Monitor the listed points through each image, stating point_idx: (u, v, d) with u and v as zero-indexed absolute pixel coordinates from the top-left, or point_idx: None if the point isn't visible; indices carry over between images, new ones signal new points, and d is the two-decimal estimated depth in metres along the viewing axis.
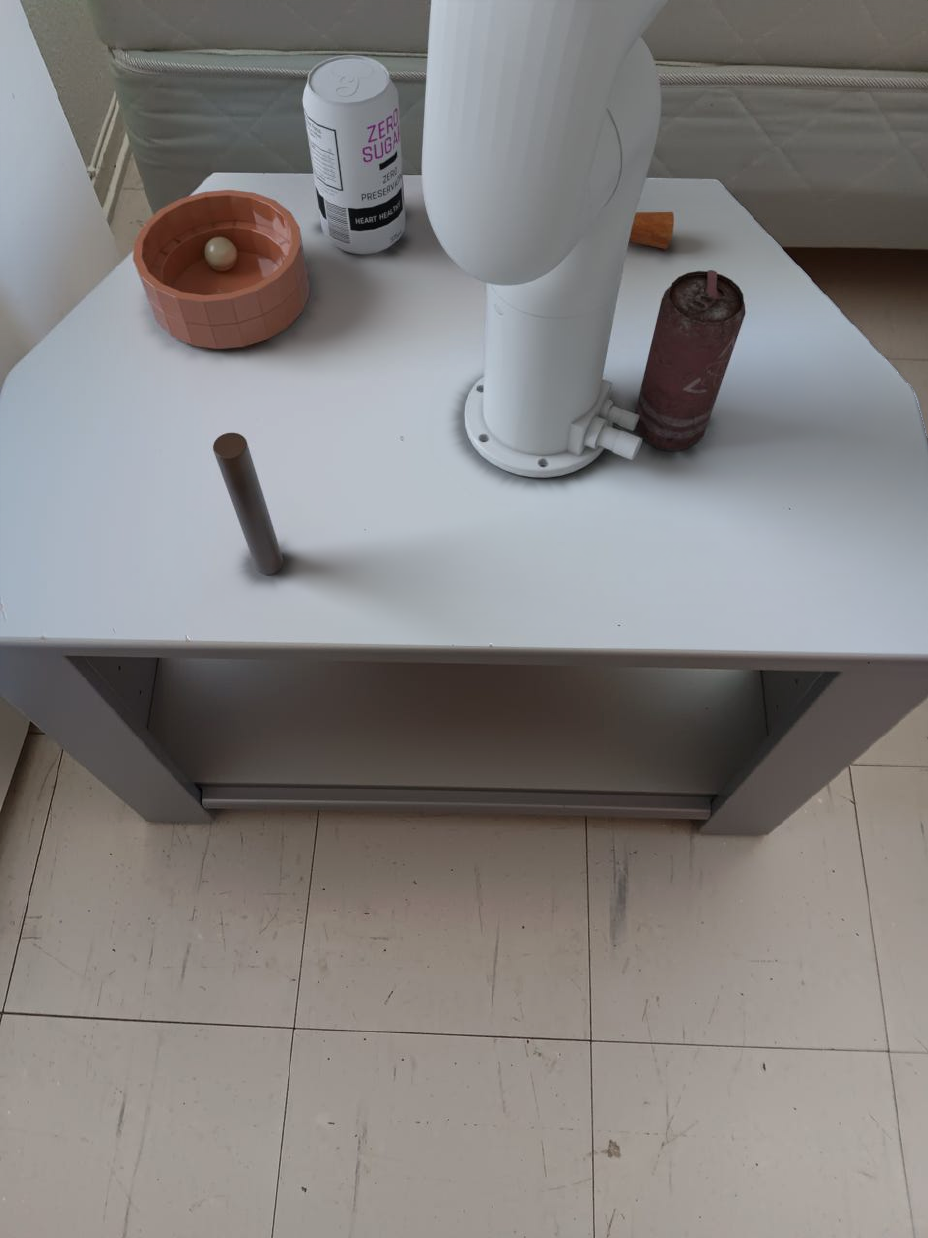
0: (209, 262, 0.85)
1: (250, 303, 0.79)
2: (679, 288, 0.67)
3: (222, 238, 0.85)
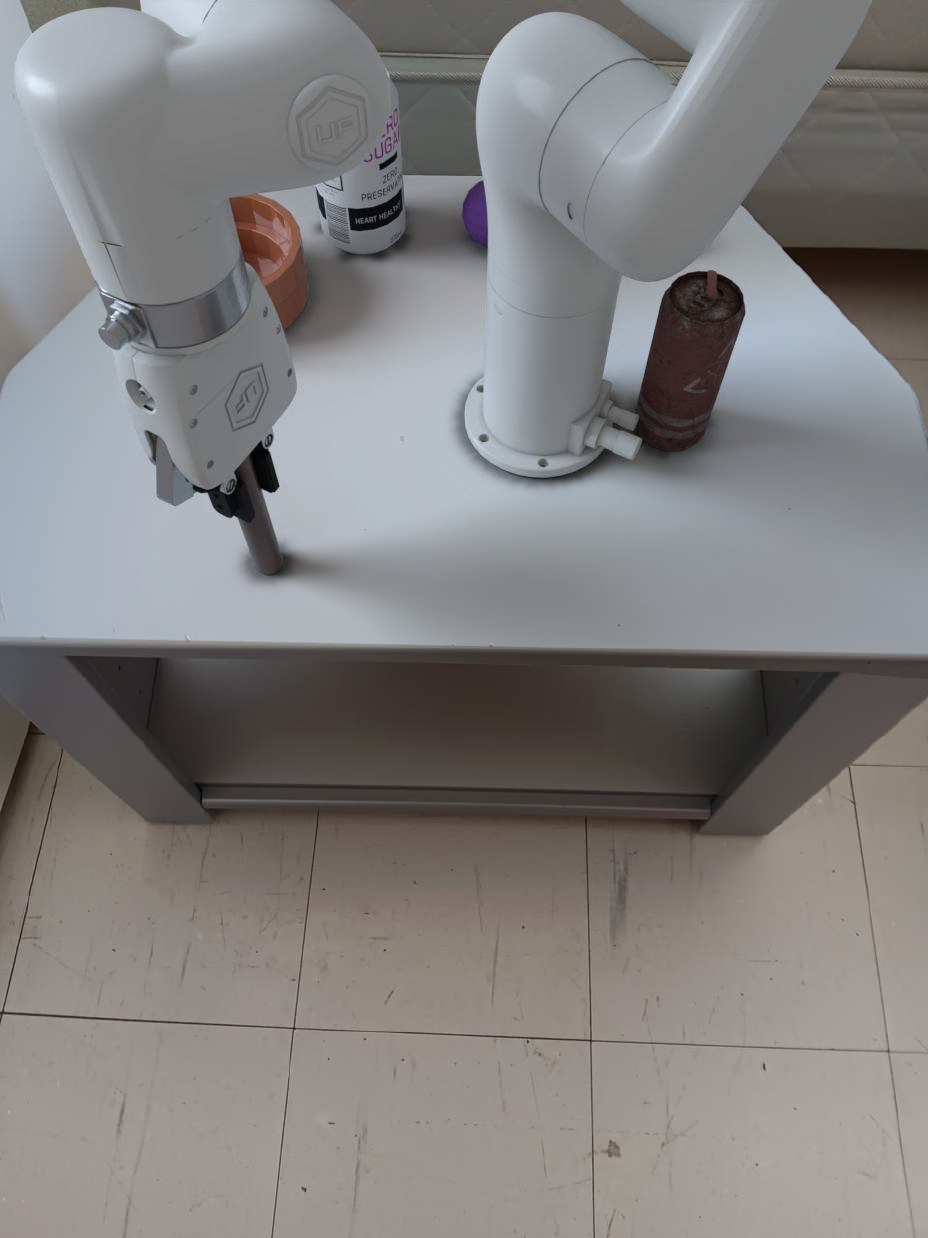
0: None
1: None
2: (679, 288, 0.67)
3: None
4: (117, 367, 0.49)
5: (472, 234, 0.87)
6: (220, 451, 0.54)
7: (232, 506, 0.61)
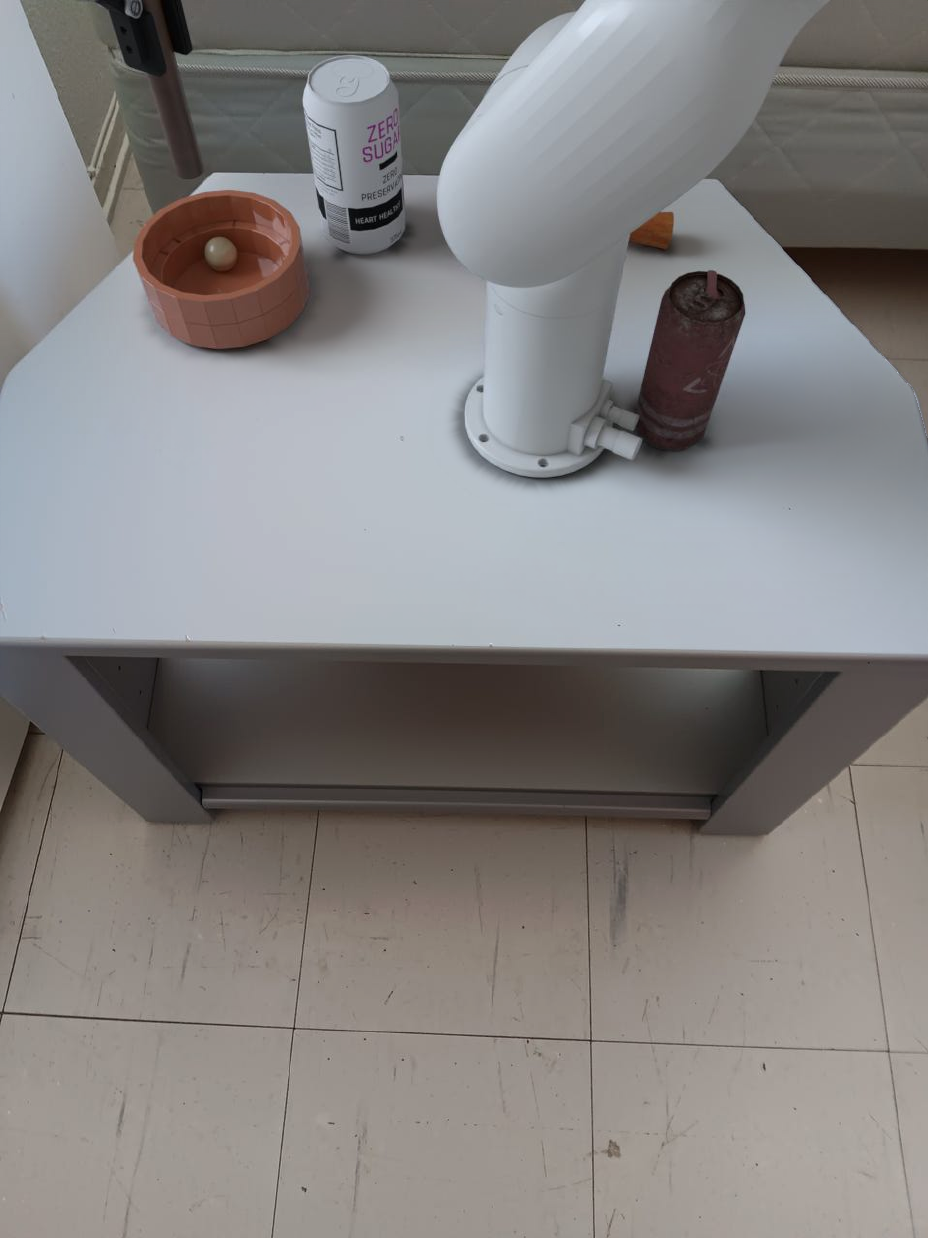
0: (209, 262, 0.85)
1: (250, 303, 0.79)
2: (679, 288, 0.67)
3: (222, 238, 0.85)
4: None
5: None
6: None
7: (141, 46, 0.60)
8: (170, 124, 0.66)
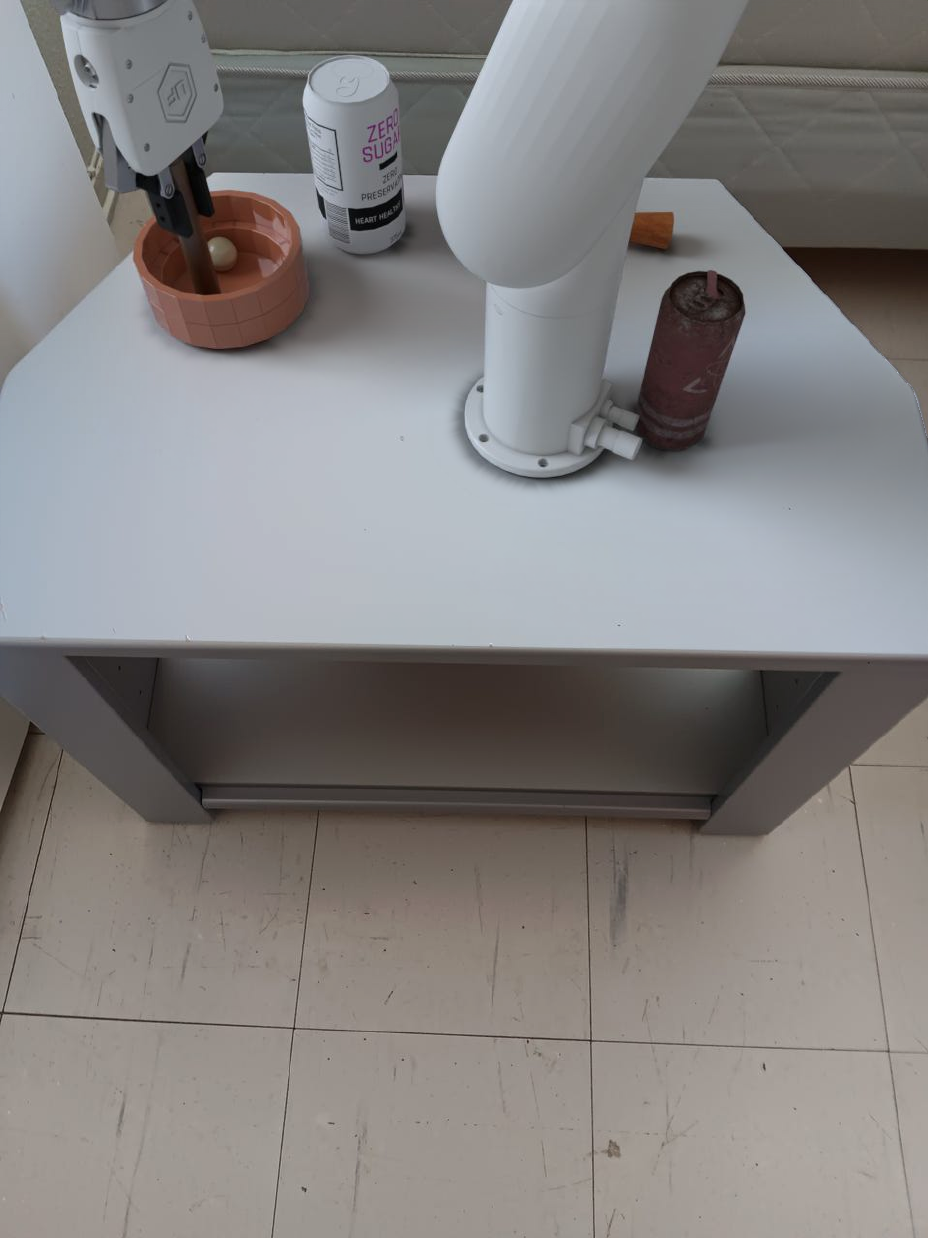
0: None
1: (250, 303, 0.79)
2: (679, 288, 0.67)
3: (222, 238, 0.85)
4: (66, 46, 0.60)
5: None
6: (155, 137, 0.65)
7: (172, 217, 0.73)
8: (195, 270, 0.79)
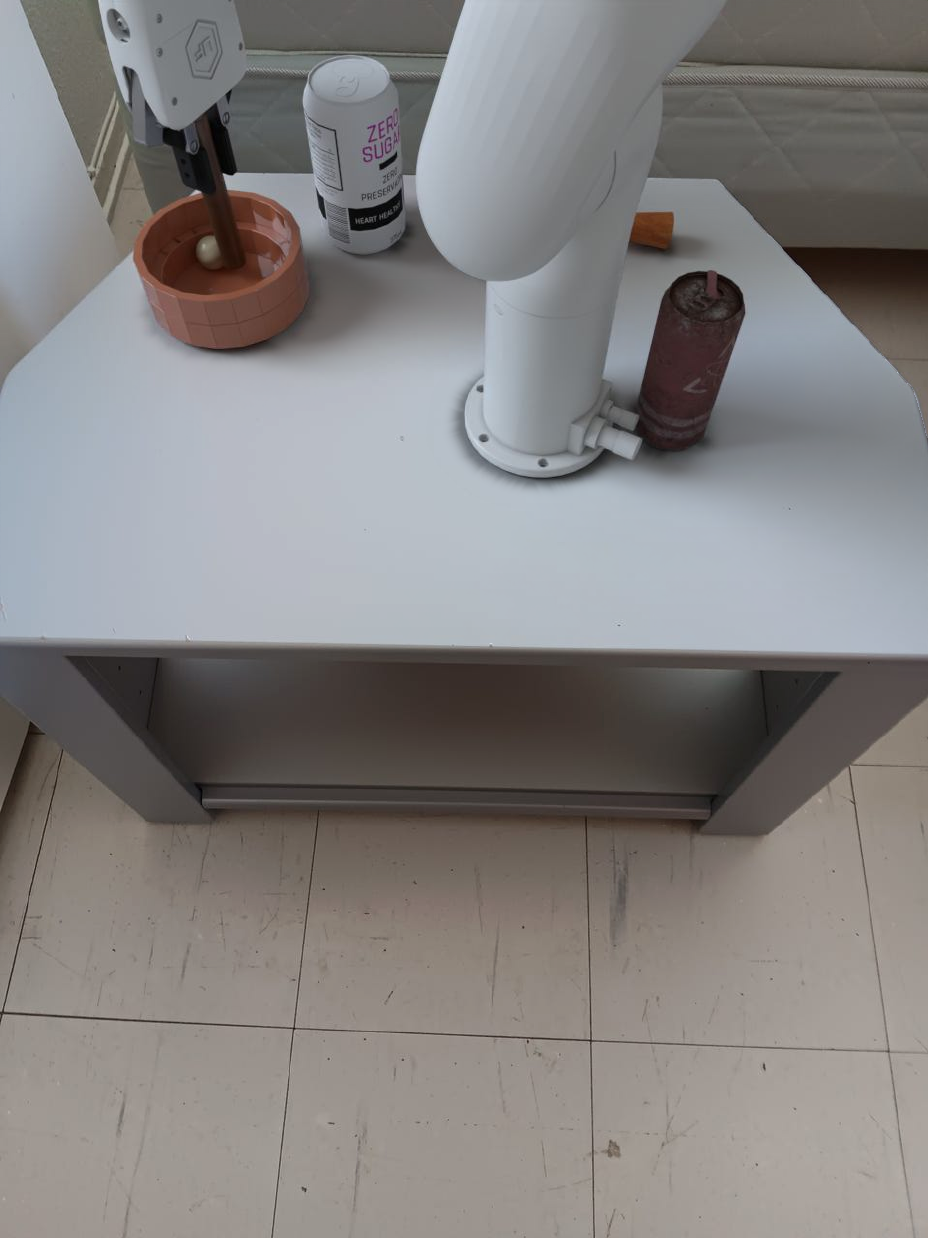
0: (200, 261, 0.86)
1: (250, 303, 0.79)
2: (679, 288, 0.67)
3: (209, 235, 0.85)
4: (100, 1, 0.63)
5: None
6: (182, 92, 0.68)
7: (196, 173, 0.75)
8: (219, 228, 0.81)
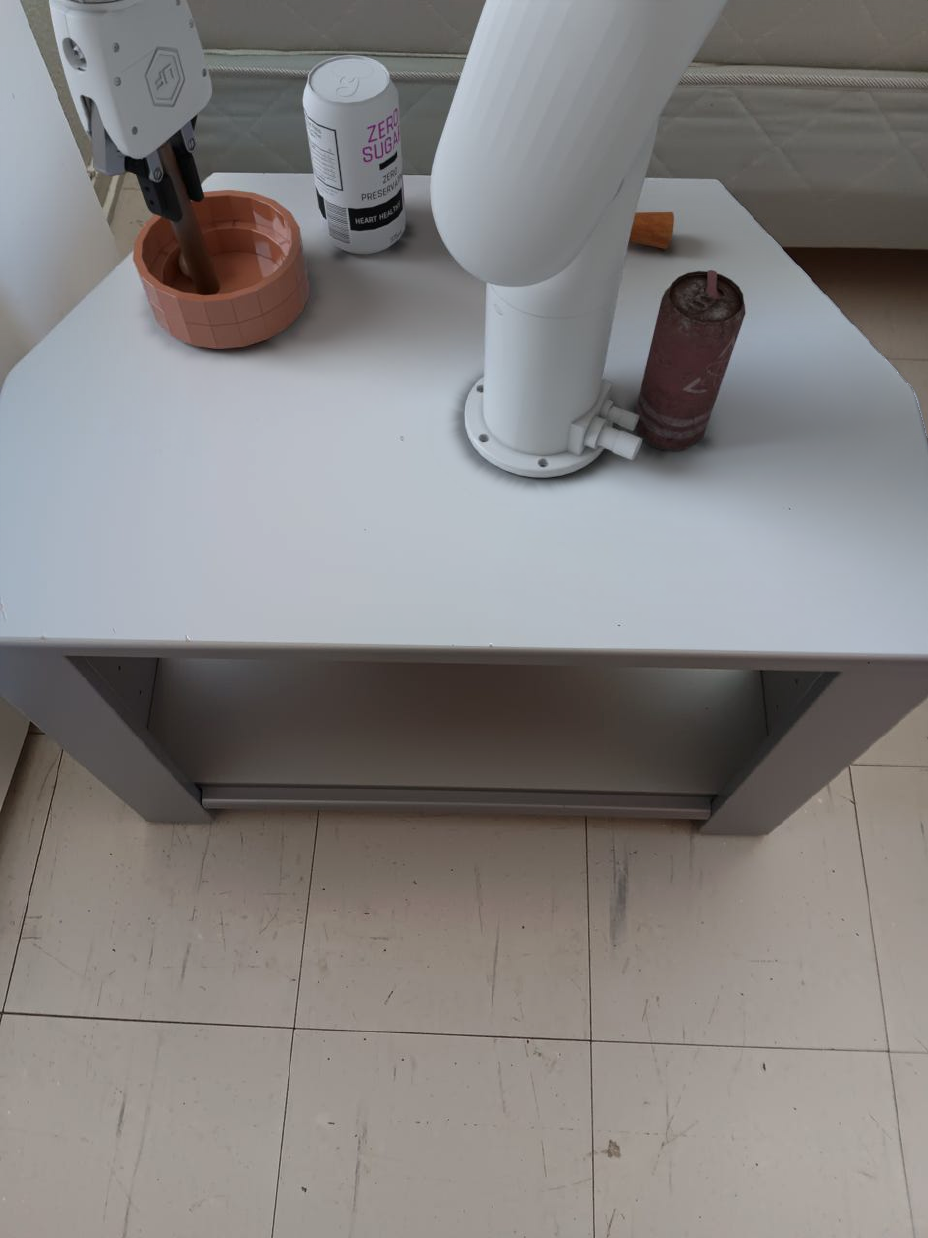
0: None
1: (250, 303, 0.79)
2: (679, 288, 0.67)
3: None
4: (55, 29, 0.62)
5: None
6: (143, 121, 0.66)
7: (161, 201, 0.74)
8: (190, 255, 0.79)
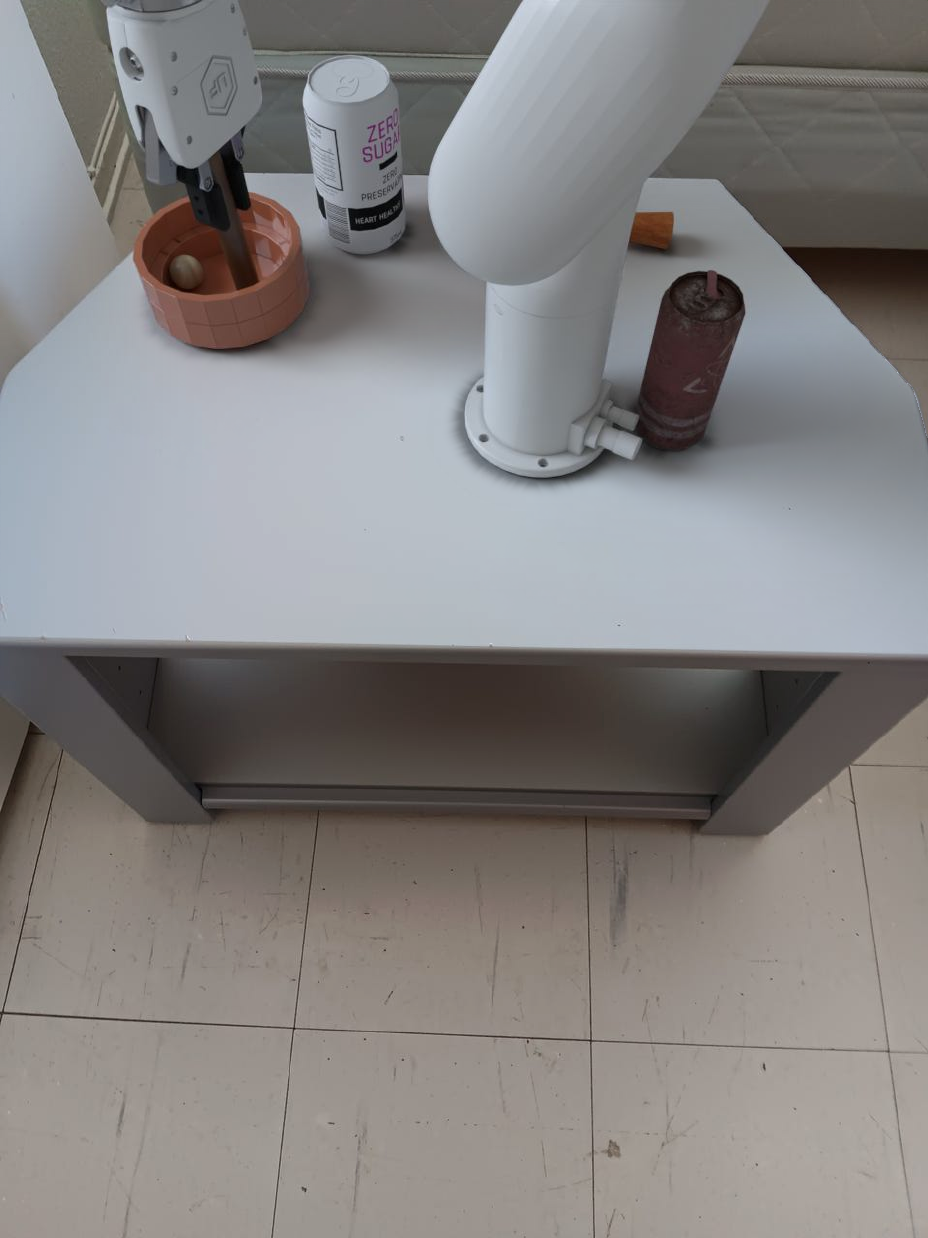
0: None
1: (250, 303, 0.79)
2: (679, 288, 0.67)
3: (176, 273, 0.83)
4: (112, 39, 0.61)
5: None
6: (197, 130, 0.65)
7: (210, 210, 0.73)
8: (236, 265, 0.79)
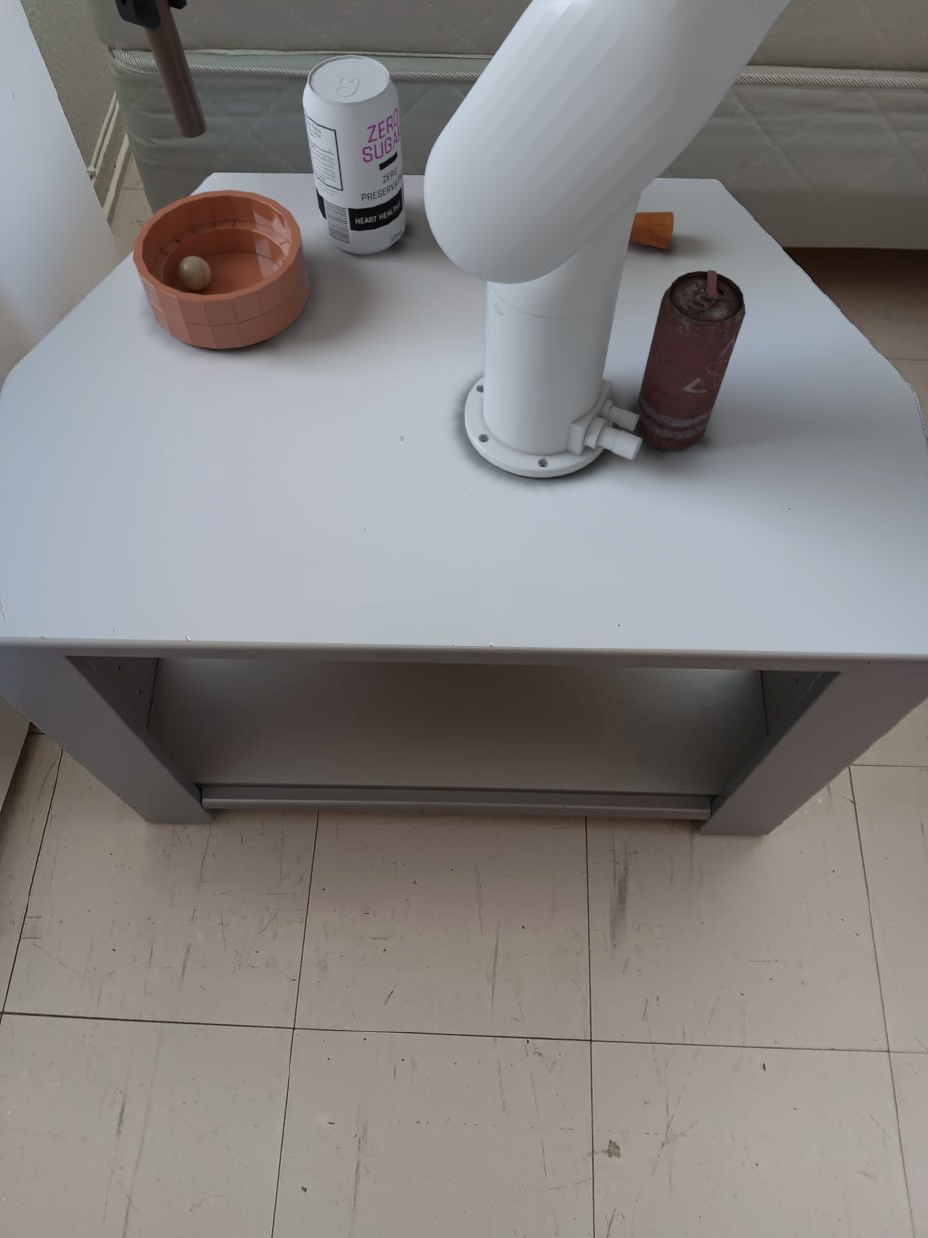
0: None
1: (250, 303, 0.79)
2: (679, 288, 0.67)
3: (189, 275, 0.83)
4: None
5: None
6: None
7: None
8: (170, 80, 0.67)
